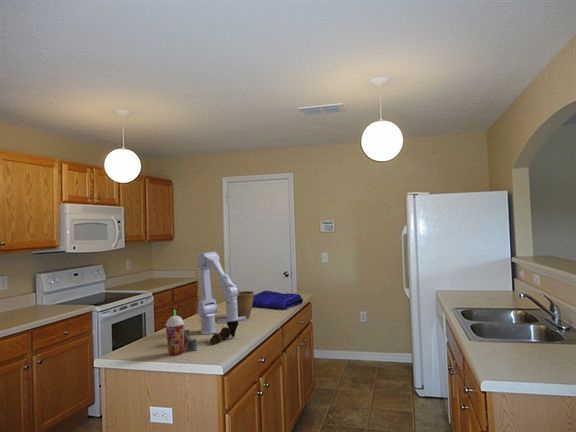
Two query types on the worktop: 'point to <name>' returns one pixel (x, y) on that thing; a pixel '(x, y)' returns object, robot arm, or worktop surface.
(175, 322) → the smoothie
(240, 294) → the plant pot
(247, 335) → the worktop surface
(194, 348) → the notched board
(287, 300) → the towel
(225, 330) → the bolt
